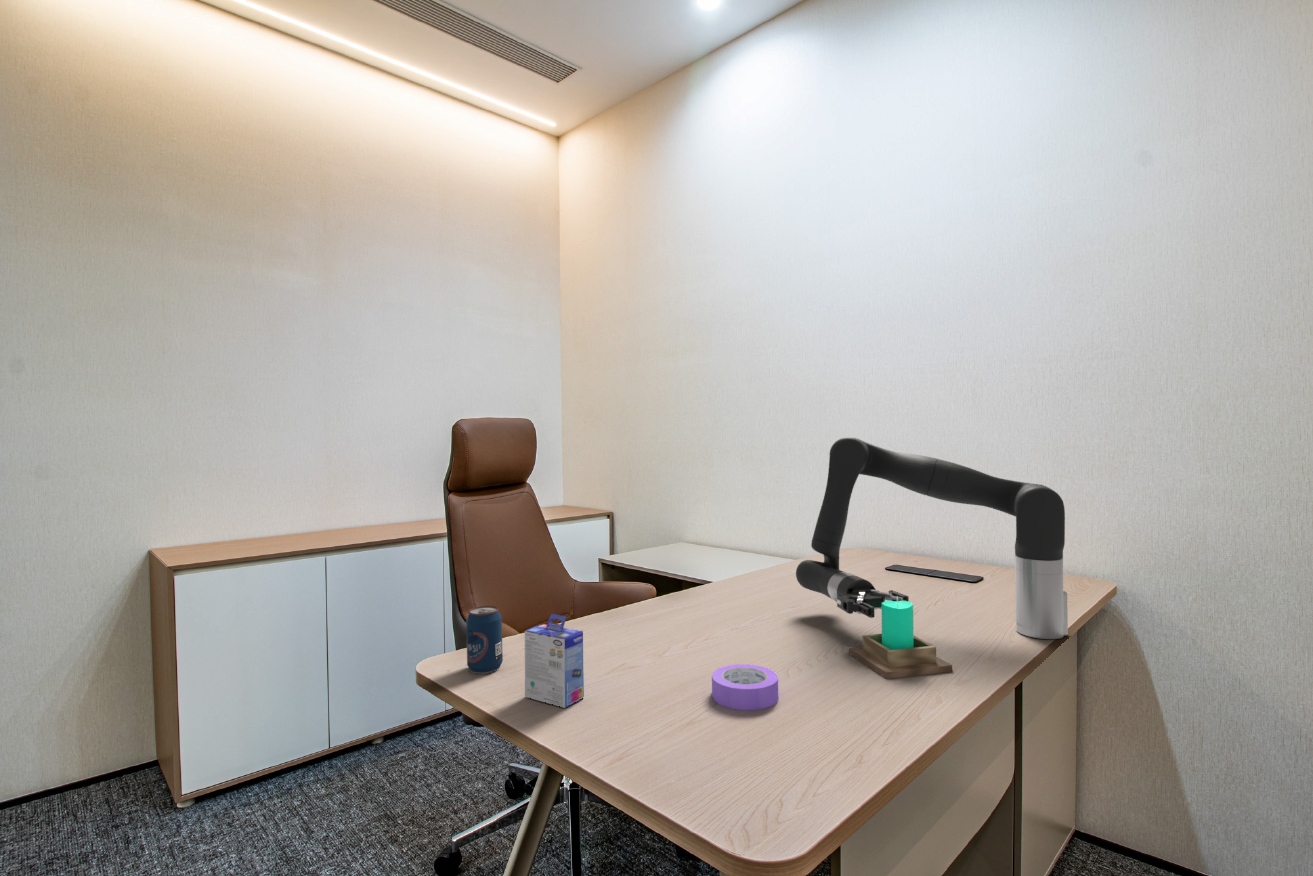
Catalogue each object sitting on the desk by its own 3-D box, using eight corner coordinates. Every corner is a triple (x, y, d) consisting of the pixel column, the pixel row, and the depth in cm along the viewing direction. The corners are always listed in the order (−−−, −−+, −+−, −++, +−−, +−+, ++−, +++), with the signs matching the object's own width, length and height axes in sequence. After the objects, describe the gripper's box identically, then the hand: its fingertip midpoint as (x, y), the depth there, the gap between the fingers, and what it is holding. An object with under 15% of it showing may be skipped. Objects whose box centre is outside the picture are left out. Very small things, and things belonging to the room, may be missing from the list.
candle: (918, 654, 127) (917, 595, 127) (907, 663, 123) (906, 601, 123) (888, 648, 131) (888, 590, 131) (877, 656, 127) (876, 596, 127)
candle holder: (908, 647, 135) (908, 627, 135) (952, 671, 122) (951, 649, 122) (848, 653, 132) (848, 633, 132) (886, 678, 119) (886, 656, 119)
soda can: (460, 672, 127) (458, 612, 126) (481, 660, 133) (480, 603, 133) (488, 677, 124) (487, 616, 124) (509, 664, 130) (508, 606, 130)
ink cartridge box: (586, 698, 113) (584, 617, 113) (566, 710, 109) (564, 625, 108) (544, 687, 119) (542, 610, 118) (523, 698, 114) (521, 617, 114)
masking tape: (711, 683, 119) (710, 663, 119) (773, 683, 118) (773, 663, 118) (713, 711, 107) (712, 689, 107) (782, 711, 107) (782, 689, 107)
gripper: (821, 577, 143) (859, 595, 127) (878, 572, 146) (922, 590, 130) (822, 610, 143) (860, 632, 127) (879, 605, 146) (923, 626, 130)
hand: (892, 611), depth 129 cm, fingers open, 8 cm apart
